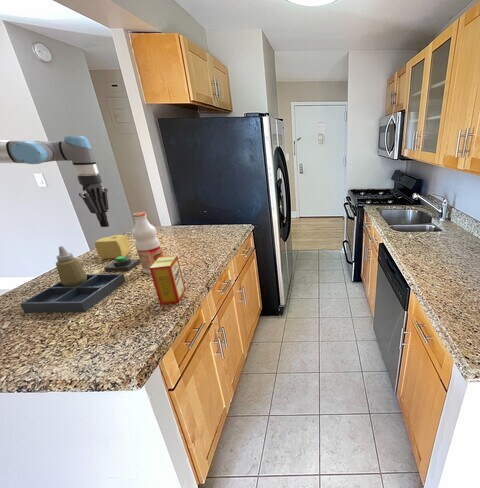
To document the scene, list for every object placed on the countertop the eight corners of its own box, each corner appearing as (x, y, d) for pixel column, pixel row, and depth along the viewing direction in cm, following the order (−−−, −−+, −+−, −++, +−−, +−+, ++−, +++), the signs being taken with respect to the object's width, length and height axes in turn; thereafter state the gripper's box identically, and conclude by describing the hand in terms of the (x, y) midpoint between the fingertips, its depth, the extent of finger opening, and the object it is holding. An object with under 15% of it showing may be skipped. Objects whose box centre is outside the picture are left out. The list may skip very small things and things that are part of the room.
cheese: (111, 251, 144) (105, 235, 141) (132, 250, 146) (127, 233, 142) (99, 259, 135) (93, 242, 131) (122, 258, 137) (116, 240, 133)
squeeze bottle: (85, 279, 113) (70, 241, 106) (93, 284, 109) (78, 245, 103) (60, 288, 107) (43, 248, 100) (68, 293, 103) (50, 252, 96)
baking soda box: (179, 302, 99) (169, 265, 93) (160, 304, 98) (149, 267, 92) (185, 289, 108) (177, 254, 102) (168, 291, 106) (158, 256, 100)
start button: (115, 262, 124) (113, 259, 123) (120, 259, 127) (119, 255, 127) (122, 262, 124) (121, 258, 123) (127, 259, 127) (126, 255, 127)
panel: (105, 271, 123) (102, 264, 121) (118, 263, 131) (116, 256, 130) (128, 271, 123) (126, 263, 121) (140, 263, 131) (138, 255, 130)
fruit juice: (146, 267, 127) (130, 211, 117) (168, 263, 130) (154, 209, 120) (141, 275, 119) (123, 216, 108) (164, 272, 122) (148, 214, 111)
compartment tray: (24, 312, 94) (19, 303, 92) (76, 282, 114) (72, 274, 112) (85, 311, 94) (81, 302, 93) (126, 281, 114) (123, 273, 113)
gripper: (91, 172, 118) (107, 222, 127) (65, 176, 106) (85, 231, 115) (108, 172, 118) (123, 222, 127) (84, 176, 106) (102, 231, 115)
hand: (105, 226), depth 121 cm, fingers closed
